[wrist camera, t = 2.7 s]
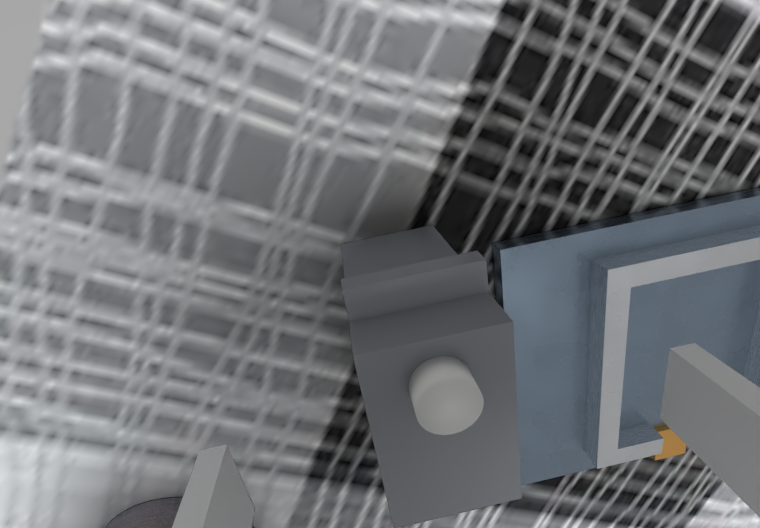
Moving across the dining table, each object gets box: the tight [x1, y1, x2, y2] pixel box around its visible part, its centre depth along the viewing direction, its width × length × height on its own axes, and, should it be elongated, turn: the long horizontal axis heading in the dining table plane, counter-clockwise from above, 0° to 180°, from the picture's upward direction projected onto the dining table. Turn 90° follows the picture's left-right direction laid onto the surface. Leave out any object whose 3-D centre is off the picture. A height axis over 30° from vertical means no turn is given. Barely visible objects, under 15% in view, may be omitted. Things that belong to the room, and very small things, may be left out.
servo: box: [341, 225, 522, 528], centre depth 16 cm, size 4×9×10 cm, turn 9°
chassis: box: [492, 187, 760, 485], centre depth 23 cm, size 20×16×2 cm
